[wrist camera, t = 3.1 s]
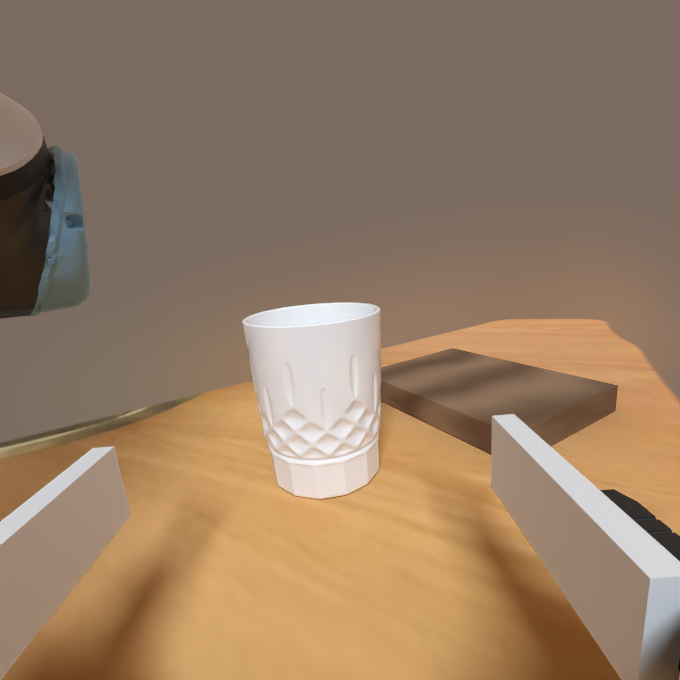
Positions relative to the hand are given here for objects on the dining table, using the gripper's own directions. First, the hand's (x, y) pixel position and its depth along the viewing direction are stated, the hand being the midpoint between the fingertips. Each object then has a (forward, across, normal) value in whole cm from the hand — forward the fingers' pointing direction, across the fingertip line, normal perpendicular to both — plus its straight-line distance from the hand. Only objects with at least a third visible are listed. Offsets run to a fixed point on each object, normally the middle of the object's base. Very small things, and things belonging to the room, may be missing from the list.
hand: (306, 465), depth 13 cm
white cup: (+10, 0, -6) cm, 12 cm away
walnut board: (+18, +12, -6) cm, 23 cm away
